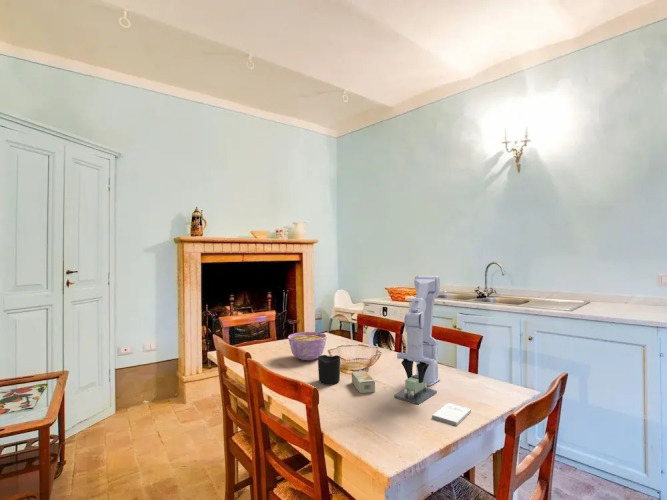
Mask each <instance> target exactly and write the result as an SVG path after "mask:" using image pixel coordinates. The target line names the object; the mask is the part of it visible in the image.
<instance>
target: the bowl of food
mask: <svg viewBox="0 0 667 500" xmlns="http://www.w3.org/2000/svg"><path fill="white" fill-rule="evenodd" d="M327 337H328V335H327V334H326V333H323V332H319V331H301V332H295V333H291V334H288V336H287V339H288V342H289V346H290V350H291V354H292V355H293V356H294V357H295V358H297V359H299V360H300V359H301V360H300V361H303V360H311V361H315V360H316V359H318V357H319V356H321V355H323V353H324V351H325V348H326V342H327ZM315 358H316V359H315ZM314 359H315V360H314Z"/></svg>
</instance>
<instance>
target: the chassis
mask: <svg viewBox="0 0 667 500" xmlns="http://www.w3.org/2000/svg"><path fill="white" fill-rule="evenodd" d="M437 393H438V390H436V389H432V388H428V387H427V383H424V388H423V389H422V390H420V391H418V392H417V393H414V390H411V391H410V392H408V389H407V388H404V389H403V390H401V391H399V392H398V393H396V394H394V395H393V397H394V398H395V399H399V400H402V401H405V402H408V403H412V404H415V405H420V404H423V402H425V401H427V400H428V399H429V398H431V397H432V396H434V395H436V394H437Z"/></svg>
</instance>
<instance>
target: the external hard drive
mask: <svg viewBox="0 0 667 500" xmlns="http://www.w3.org/2000/svg"><path fill="white" fill-rule="evenodd" d="M470 413H472V409H471V408H469V407H465V406H462V405H458V404H454V403H452V402H451V403H450V402H447V403H446V404H444V405H443V406H442V407H441V408H439V409H438V410H437V411H435V412H434V413H433V414H432V415H431V419H432V420H437V421H440V422H443V423H446V424H449V425H453V426H455V427H457V426H458V425H459V424H460V423H461V422H462V421H463V420H464V419H466V418H467V417H468V415H470Z"/></svg>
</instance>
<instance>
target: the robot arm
mask: <svg viewBox="0 0 667 500" xmlns="http://www.w3.org/2000/svg"><path fill="white" fill-rule="evenodd" d="M413 283H414V288H415V291H416V292H415V293H416V295H415V298H414V299H412V301H411V304H410V307H409V311H408V312H407V313H405V315H404V327H405V332H406V347H407V348H406V351H407V352H398V353H396V358H397V359H398V360H400V359H401V365H402V367H403V369H404V370H405V374H406V377H407V378H406V379H408V378H410V377H412V376H414V375H413V373H414V372H413V367H414V363H416V364H415V369H416V370H415V371H416V375H418V380H419V383H422V382H423V380H424V383H427V386H428V387H430V386H432V385H434V384H436V383H437V382H440V380H441V378H439V363H438V362H437V359H438V356H439V346H438V345H439V344H438V341H437V340H436V339H435V338H434V337H432V334H433V332H432V331H433V320H434V319H433V317H434V305H435V300H436V298H438V297H439V295H440V288H441V287H440V286H441V281H440V277H439V276H438V275H416V276H415V277H414V282H413Z"/></svg>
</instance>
